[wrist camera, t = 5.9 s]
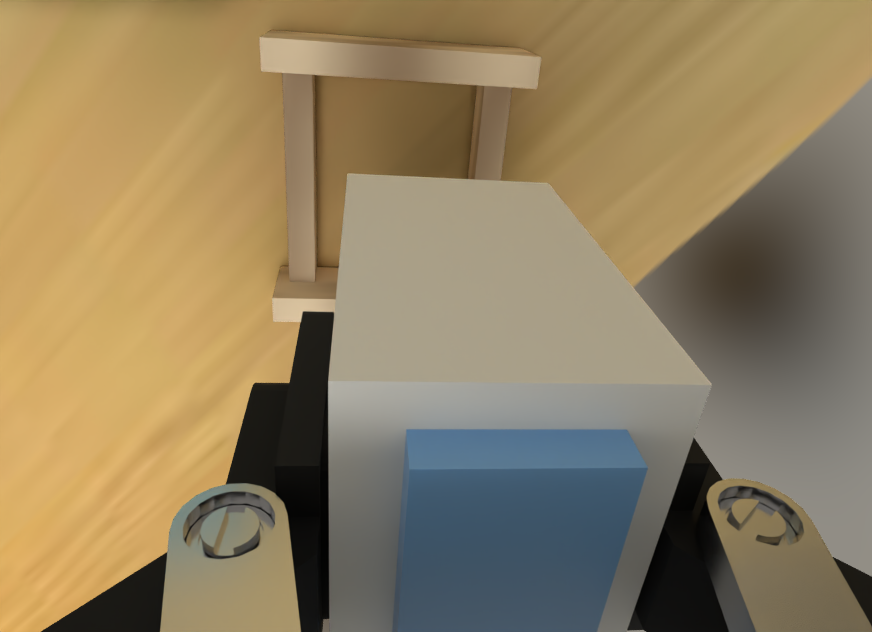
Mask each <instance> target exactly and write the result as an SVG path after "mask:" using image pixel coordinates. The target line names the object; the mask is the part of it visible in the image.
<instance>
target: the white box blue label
mask: <svg viewBox="0 0 872 632" xmlns="http://www.w3.org/2000/svg"><path fill="white" fill-rule="evenodd" d="M711 386H712V384H711V383H710V382H709V380H708V379H707V378H706V377H705V376H704V374H703V373H702V372H701V371H700V369H699V368H698V367H697V366H696V364H695V363H694V362H693V361H692V360H691V359H690V357H689V356H688V355H687V354H686V352H685V351H684V350H683V348H682V347H681V346H680V345H679V344H678V342H677V341H676V340H675V339H674V337H673V336H672V335H671V334H670V332H669V331H668V330H667V329H666V327H665V326H664V325H663V324H662V323H661V321H660V320H659V319H658V318H657V316H656V315H655V314H654V313H653V311H652V310H651V309H650V308H649V307H648V305H647V304H646V303H645V302H644V300H643V299H642V298H641V297H640V296H639V294H638V293H637V292H636V290H634V288H633V287H632V286H631V284H630V283H629V282H628V281H627V279H626V278H625V277H624V276H623V274H622V273H621V272H620V271H619V270H618V268H617V267H616V266H615V265H614V263H613V262H612V261H611V260H610V258H609V257H608V256H607V255H606V253H605V252H604V251H603V250H602V249H601V247H600V246H599V245H598V244H597V242H596V241H595V240H594V239H593V237H592V236H591V235H590V234H589V233H588V231H587V230H586V229H585V228H584V226H583V225H582V224H581V223H580V221H579V220H578V219H577V218H576V217H575V215H574V214H573V213H572V212H571V210H570V209H569V208H568V207H567V205H566V204H565V203H564V202H563V200H562V199H561V198H560V197H559V196H558V194H557V193H556V192H555V191H554V189H553V188H552V187H551V186H550V184H549V183H538V182H517V181H496V180H475V179H454V178H434V177H413V176H392V175H371V174H351V173H347V184H346V195H345V205H344V216H343V227H342V238H341V248H340V259H339V270H338V280H337V291H336V302H335V313H334V323H333V334H332V345H331V356H330V366H329V377H328V452H329V631H330V632H627V629H628V626H629V623H630V620H631V617H632V614H633V611H634V609H635V606H636V603H637V600H638V597H639V594H640V591H641V588H642V585H643V583H644V580H645V577H646V574H647V571H648V568H649V565H650V562H651V559H652V557H653V554H654V551H655V548H656V545H657V542H658V539H659V536H660V533H661V531H662V528H663V525H664V522H665V519H666V516H667V513H668V510H669V507H670V505H671V502H672V499H673V496H674V493H675V490H676V487H677V484H678V481H679V479H680V476H681V473H682V470H683V467H684V464H685V461H686V458H687V455H688V453H689V450H690V447H691V444H692V441H693V438H694V435H695V432H696V429H697V426H698V424H699V421H700V418H701V415H702V412H703V409H704V406H705V403H706V401H707V398H708V395H709V392H710V389H711Z"/></svg>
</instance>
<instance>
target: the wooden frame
mask: <svg viewBox="0 0 872 632" xmlns="http://www.w3.org/2000/svg"><path fill="white" fill-rule="evenodd" d="M259 39H260V59H261V71H262V72H277V73H282V77H283V106H284V135H285V164H286V193H287V222H288V251H289V266H281V267H280V270H279V274H278V278H277V282H276V286H275V289H274V293H273V297H272V304H273V322H301V318H302V313H303V311H313V312H334V313H335V302H336V291H337V280H338V270H339V268H334V267H317V207H316V125H315V75H324V76H340V77H356V78H371V79H387V80H403V81H418V82H434V83H450V84H465V85H477V90H476V100H475V110H474V120H473V131H472V141H471V151H470V161H469V171H468V179H475V180H496V181H501V174H502V165H503V157H504V149H505V141H506V133H507V125H508V117H509V109H510V101H511V93H512V88H528V89H537V86H538V79H539V72H540V65H541V58H542V57H540V56H538V55H536V54H533V53H531V52H529V51H526V50H524V49H522V48H513V47H499V46H485V45H472V44H458V43H444V42H430V41H416V40H403V39H389V38H375V37H361V36H347V35H333V34H320V33H306V32H292V31H278V30H270V31H268V32H267V33H265V34H264V35H262V36H260V37H259Z"/></svg>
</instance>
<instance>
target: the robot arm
mask: <svg viewBox="0 0 872 632" xmlns="http://www.w3.org/2000/svg"><path fill="white" fill-rule="evenodd" d="M333 323H334V312H313V311H303V313H302V318H301V324H300V329H299V334H298V340H297V345H296V351H295V356H294V362H293V367H292V373H291V378H290V383H255V384H253V387H252V390H251V393H250V397H249V401H248V404H247V408H246V412H245V415H244V419H243V423H242V427H241V430H240V434H239V438H238V441H237V445H236V449H235V453H234V456H233V460H232V464H231V467H230V471H229V475H228V479H227V482H226V485H222V486H218V487H214V488H211V489H209V490H207V491H205V492H203V493H201V494H198V495H196V496H195V497H194V498H192V499H191V500H190V501H189V502H187V503H186V504H185V505H183V506H182V508H181V509H180V511H179V512H178V513H177V515H176V516H175V517H174V519H173V522H172V525H171V528H170V532H169V541H168V551H167V553H165V554H164V555H162V556H160V557H159V558H157V559H156V560H154V561H152V562H151V563H149V564H148V565H146V566H144V567H143V568H141V569H140V570H138V571H137V572H135V573H133V574H132V575H130V576H129V577H127V578H125V579H124V580H122V581H121V582H119V583H117V584H116V585H114V586H113V587H111V588H110V589H108V590H106V591H105V592H103V593H102V594H100V595H98V596H97V597H95V598H94V599H92V600H90V601H89V602H87V603H86V604H84V605H83V606H81V607H79V608H78V609H76V610H75V611H73V612H71V613H70V614H68V615H67V616H65V617H63V618H62V619H60V620H59V621H57V622H55V623H54V624H52V625H51V626H49V627H48V628H46V629H44V630H43V631H41V632H322V629H323V619H329V452H328V377H329V366H330V356H331V345H332V334H333ZM627 630H644V631H646V632H872V577H871V576H869V575H867V574H865V573H863V572H861V571H859V570H857V569H856V568H853V567H852V566H850V565H848V564H846V563H844V562H841V561H840V560H838V559H836V558H834V557H832V555H831V554H830V552H829V550H828V548H827V546H826V545H825V543H824V541H823V539H822V538H821V536H820V534H819V532H818V531H817V529H816V527H815V525H814V524H813V522H812V520H811V519H810V518H809V516H808V515H807V514H806V512H805V511H804V510H803V508H801V507H800V506H799V505H798V504H797V503H795V502H794V501H793V500H792V499H791V498H789V497H788V496H786V495H785V494H783V493H781V492H779V491H778V490H776V489H774V488H772V487H770V486H767V485H764V484H762V483H760V482H756V481H751V480H746V479H726V480H722V478H721V477H720V475H719V473H718V472H717V471H716V469H715V468H714V466H713V465H712V463H711V462H710V461H709V459H708V458H707V456H706V455H705V453H704V452H703V451H702V449H701V447H700V446H699V444H698V443H697V442H696V440H695V439H694V438H693V441H692V444H691V447H690V450H689V453H688V455H687V458H686V461H685V464H684V467H683V470H682V473H681V476H680V479H679V481H678V484H677V487H676V490H675V493H674V496H673V499H672V502H671V505H670V507H669V510H668V513H667V516H666V519H665V522H664V525H663V528H662V531H661V533H660V536H659V539H658V542H657V545H656V548H655V551H654V554H653V557H652V559H651V562H650V565H649V568H648V571H647V574H646V577H645V580H644V583H643V585H642V588H641V591H640V594H639V597H638V600H637V603H636V606H635V609H634V611H633V614H632V617H631V620H630V623H629V626H628V629H627Z"/></svg>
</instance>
